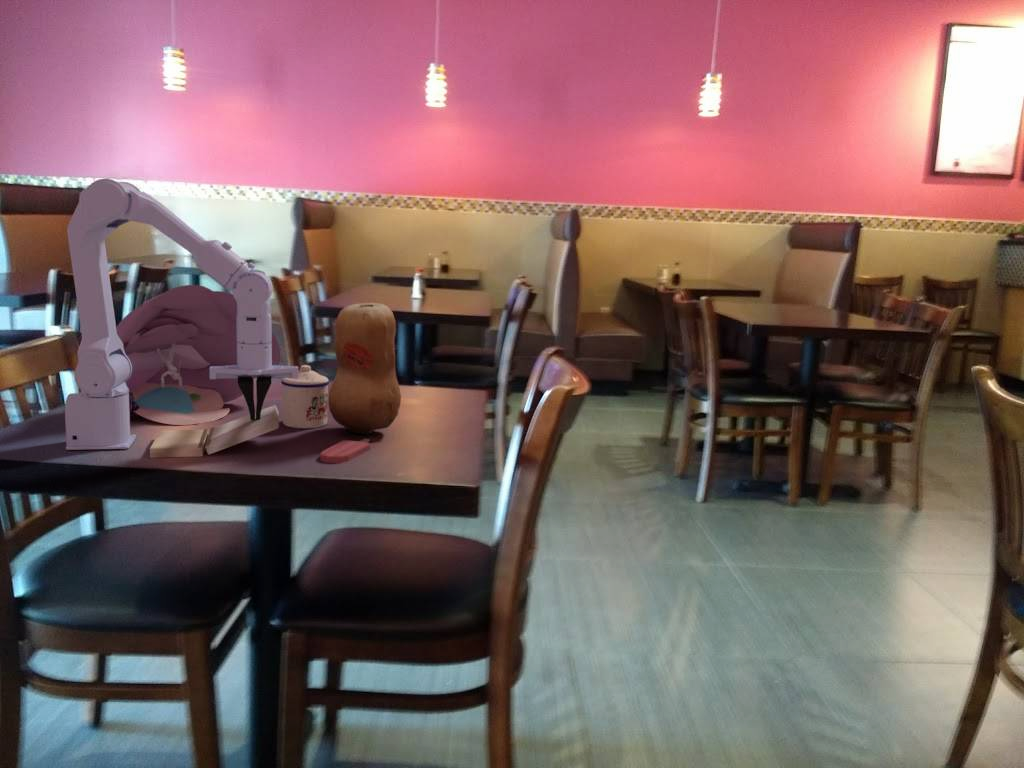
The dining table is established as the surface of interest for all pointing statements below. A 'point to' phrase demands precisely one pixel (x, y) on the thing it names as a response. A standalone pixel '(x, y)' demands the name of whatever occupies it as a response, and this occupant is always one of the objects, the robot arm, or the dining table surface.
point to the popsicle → (344, 451)
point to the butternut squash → (365, 369)
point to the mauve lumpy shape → (182, 355)
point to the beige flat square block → (242, 430)
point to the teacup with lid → (305, 399)
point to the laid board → (179, 443)
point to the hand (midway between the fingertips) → (255, 418)
